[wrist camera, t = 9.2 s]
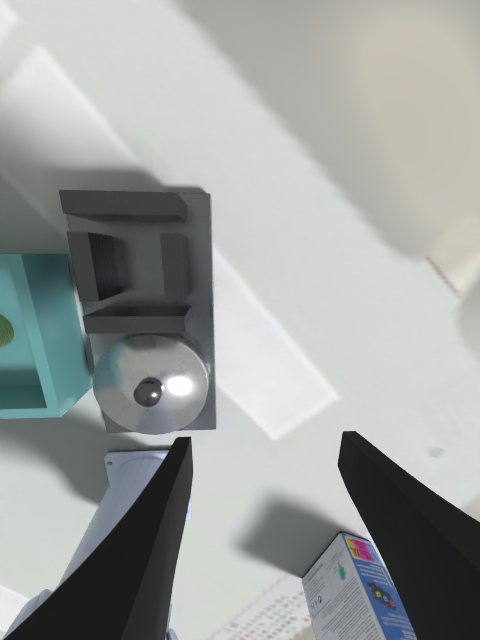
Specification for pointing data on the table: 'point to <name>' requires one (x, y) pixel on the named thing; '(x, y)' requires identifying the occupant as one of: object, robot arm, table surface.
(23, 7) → the table surface
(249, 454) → the table surface
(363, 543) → the ink cartridge box
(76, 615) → the robot arm
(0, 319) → the pin
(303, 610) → the table surface
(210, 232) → the plate
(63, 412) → the tray
